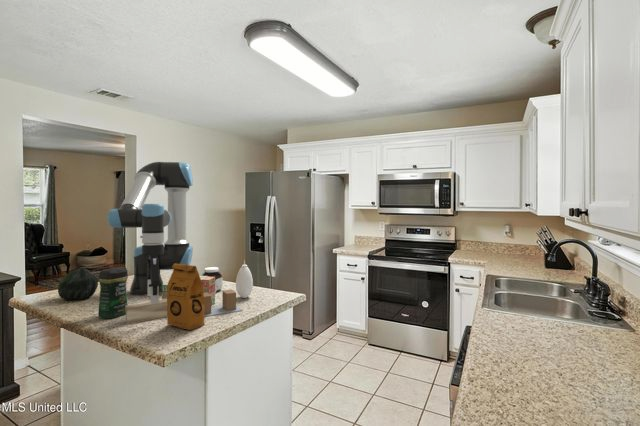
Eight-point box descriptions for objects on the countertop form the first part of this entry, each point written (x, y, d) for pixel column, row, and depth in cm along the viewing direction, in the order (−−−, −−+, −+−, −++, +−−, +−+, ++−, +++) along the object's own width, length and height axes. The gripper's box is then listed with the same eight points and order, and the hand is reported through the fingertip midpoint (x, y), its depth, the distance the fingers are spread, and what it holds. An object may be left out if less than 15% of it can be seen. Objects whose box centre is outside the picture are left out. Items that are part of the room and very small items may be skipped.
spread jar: (217, 288, 173) (217, 266, 172) (228, 292, 165) (228, 269, 164) (194, 292, 164) (194, 269, 164) (205, 297, 156) (205, 272, 156)
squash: (58, 284, 156) (58, 263, 148) (96, 281, 165) (99, 261, 157) (57, 310, 148) (57, 289, 140) (97, 305, 157) (100, 286, 149)
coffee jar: (110, 320, 124) (110, 270, 123) (94, 318, 126) (93, 269, 126) (132, 312, 133) (131, 266, 132) (116, 310, 135) (116, 265, 135)
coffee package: (186, 333, 112) (186, 268, 111) (162, 326, 118) (162, 264, 117) (209, 324, 120) (209, 263, 120) (186, 318, 126) (186, 260, 126)
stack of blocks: (161, 306, 142) (161, 277, 142) (169, 302, 148) (169, 274, 148) (208, 308, 139) (208, 279, 139) (215, 304, 145) (215, 276, 145)
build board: (191, 311, 135) (191, 293, 135) (235, 304, 145) (235, 287, 145) (196, 318, 127) (196, 299, 127) (242, 310, 136) (242, 292, 136)
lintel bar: (125, 321, 124) (125, 305, 123) (176, 311, 135) (176, 297, 135) (127, 324, 120) (127, 307, 120) (179, 314, 132) (179, 299, 132)
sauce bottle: (254, 298, 154) (254, 260, 153) (237, 300, 150) (237, 261, 150) (250, 294, 161) (250, 257, 160) (234, 296, 157) (234, 258, 157)
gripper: (139, 241, 136) (139, 293, 136) (144, 247, 114) (144, 309, 114) (160, 241, 140) (160, 291, 140) (167, 246, 118) (167, 306, 118)
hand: (152, 299), depth 127 cm, fingers open, 13 cm apart
